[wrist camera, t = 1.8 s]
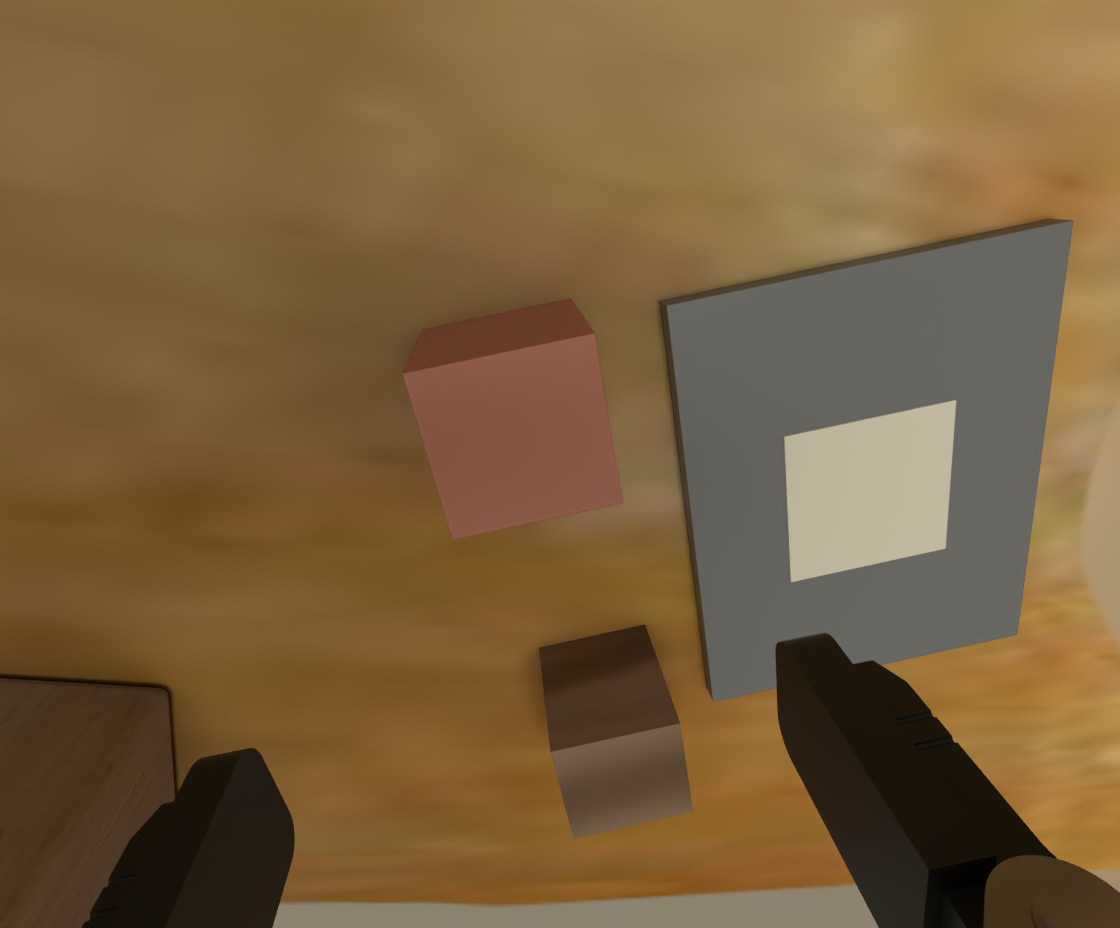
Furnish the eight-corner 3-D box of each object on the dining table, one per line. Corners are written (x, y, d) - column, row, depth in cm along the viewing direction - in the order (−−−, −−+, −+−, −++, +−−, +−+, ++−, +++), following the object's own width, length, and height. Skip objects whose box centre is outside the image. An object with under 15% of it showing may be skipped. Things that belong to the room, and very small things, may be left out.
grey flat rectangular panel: (660, 301, 24) (667, 306, 23) (1051, 218, 24) (1075, 220, 23) (706, 687, 32) (713, 703, 31) (1002, 621, 32) (1018, 635, 31)
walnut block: (539, 647, 30) (550, 751, 24) (644, 624, 30) (680, 723, 24) (558, 725, 32) (573, 838, 26) (657, 704, 32) (692, 812, 26)
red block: (422, 329, 24) (402, 373, 18) (570, 298, 24) (594, 333, 18) (460, 464, 26) (452, 539, 20) (594, 435, 26) (622, 503, 20)
